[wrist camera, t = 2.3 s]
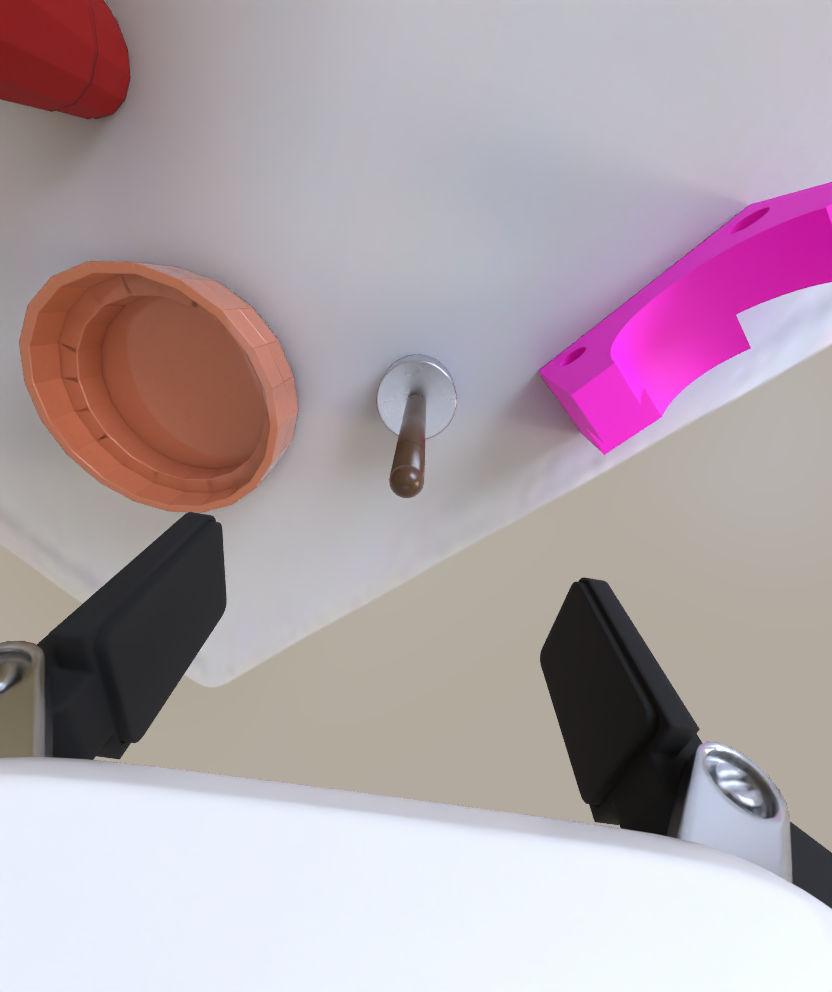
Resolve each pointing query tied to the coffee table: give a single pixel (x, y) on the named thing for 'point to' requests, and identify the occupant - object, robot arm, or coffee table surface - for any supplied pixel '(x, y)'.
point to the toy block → (691, 316)
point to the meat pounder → (414, 415)
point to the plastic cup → (63, 56)
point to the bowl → (158, 383)
